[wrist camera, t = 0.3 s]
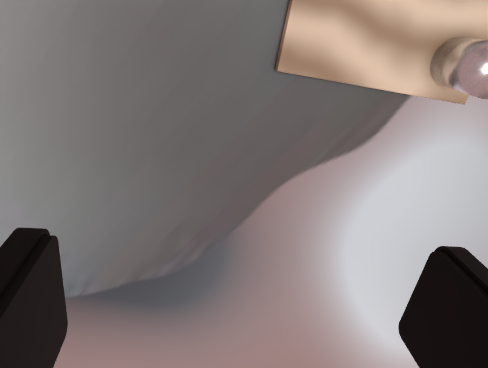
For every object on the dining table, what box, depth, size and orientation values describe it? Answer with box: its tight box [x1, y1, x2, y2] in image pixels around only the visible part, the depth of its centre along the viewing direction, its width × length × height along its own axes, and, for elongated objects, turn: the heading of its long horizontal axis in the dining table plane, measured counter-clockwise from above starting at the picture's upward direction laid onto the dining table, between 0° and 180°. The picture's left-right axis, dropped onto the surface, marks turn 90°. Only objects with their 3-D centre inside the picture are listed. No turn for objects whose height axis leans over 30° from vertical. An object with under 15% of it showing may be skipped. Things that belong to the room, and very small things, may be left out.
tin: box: [430, 37, 488, 99], centre depth 35 cm, size 5×5×6 cm
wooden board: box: [275, 0, 488, 104], centre depth 36 cm, size 12×22×1 cm, turn 79°
